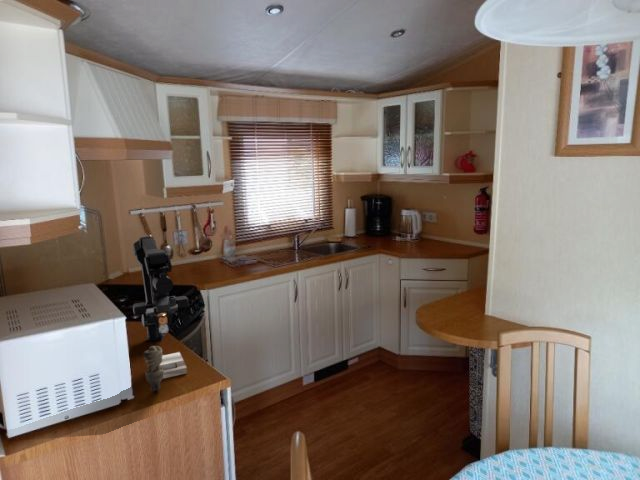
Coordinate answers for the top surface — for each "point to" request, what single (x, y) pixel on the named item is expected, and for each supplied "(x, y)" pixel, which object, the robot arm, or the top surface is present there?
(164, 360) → the white block
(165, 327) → the brown round tapered piece
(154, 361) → the grey stone figurine
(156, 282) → the robot arm
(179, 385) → the top surface
